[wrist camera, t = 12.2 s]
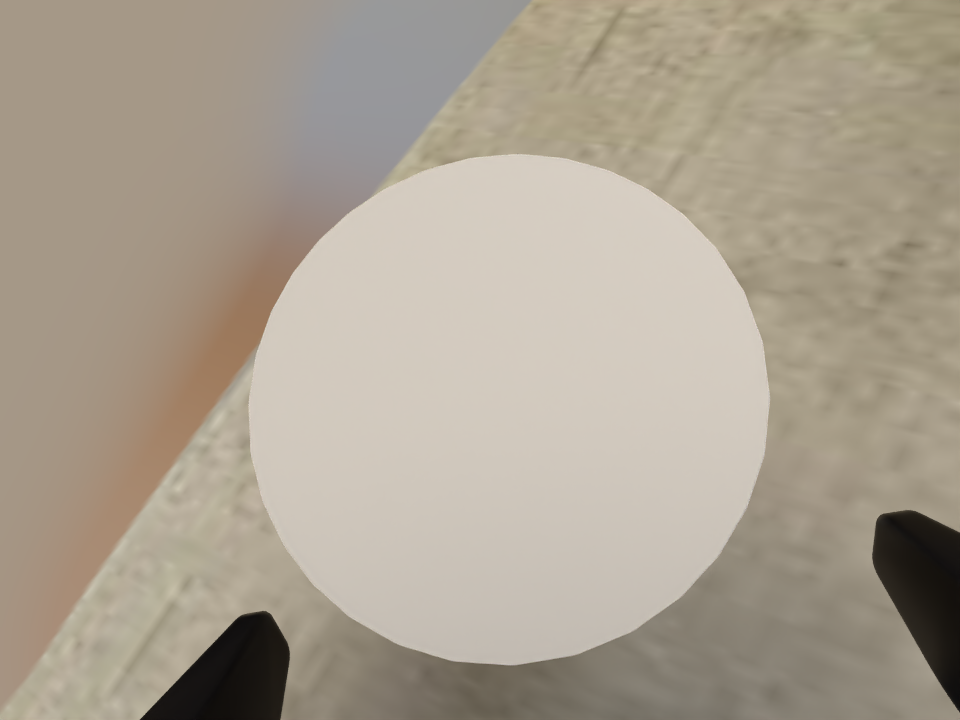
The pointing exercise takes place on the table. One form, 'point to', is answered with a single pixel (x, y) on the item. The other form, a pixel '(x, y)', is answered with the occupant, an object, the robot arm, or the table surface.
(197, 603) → the table surface
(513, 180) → the tube
